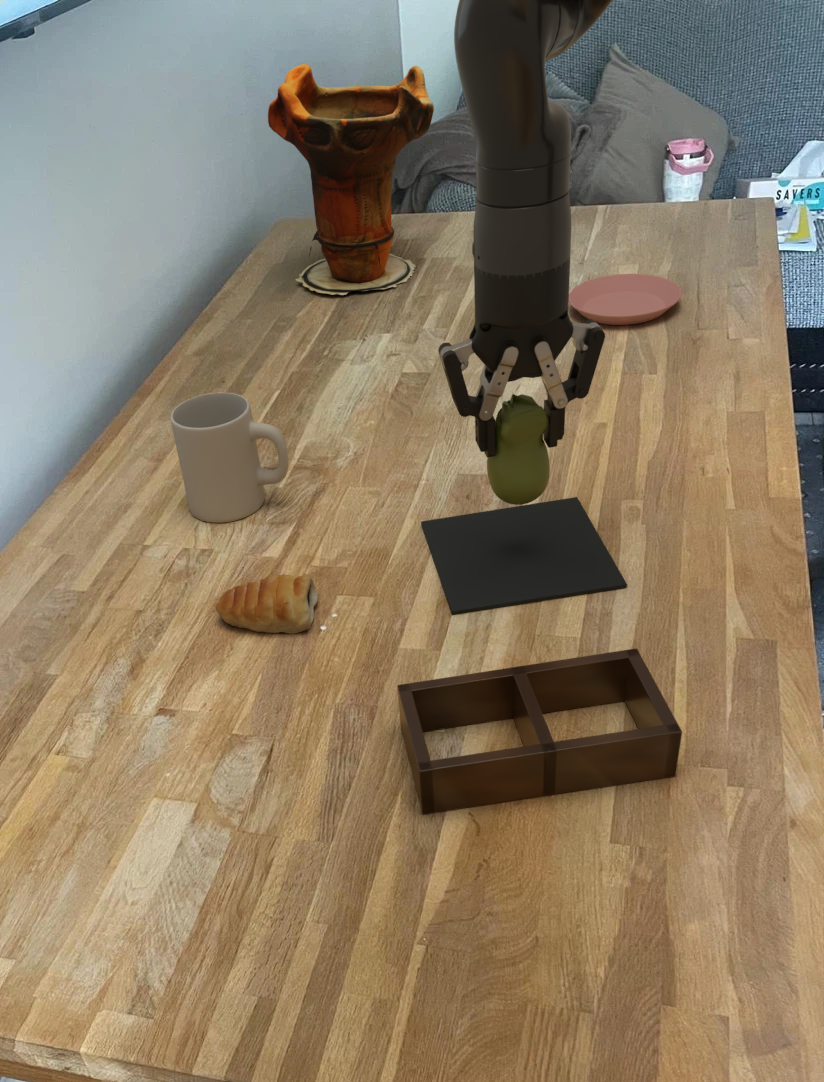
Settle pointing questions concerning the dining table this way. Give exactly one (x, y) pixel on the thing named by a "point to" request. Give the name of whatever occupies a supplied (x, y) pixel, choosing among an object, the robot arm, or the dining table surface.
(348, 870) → the dining table surface
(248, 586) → the pastry
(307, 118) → the decorative vase
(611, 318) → the plate
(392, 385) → the dining table surface
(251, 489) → the mug
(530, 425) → the green rounded tall piece
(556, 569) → the mat
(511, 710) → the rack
